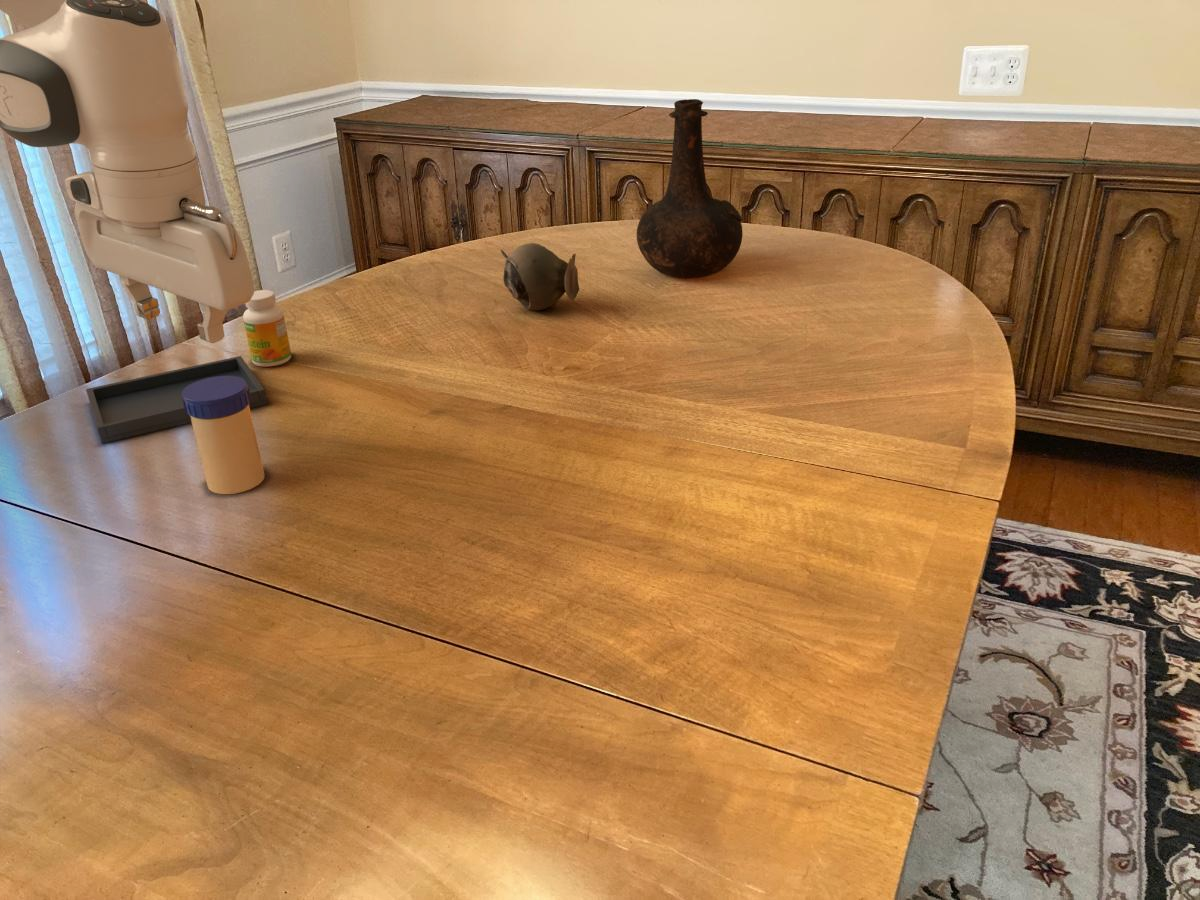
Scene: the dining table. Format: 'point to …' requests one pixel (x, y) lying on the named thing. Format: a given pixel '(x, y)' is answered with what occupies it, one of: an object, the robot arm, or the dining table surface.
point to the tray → (159, 398)
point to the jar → (229, 452)
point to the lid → (216, 397)
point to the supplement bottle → (266, 330)
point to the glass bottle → (689, 210)
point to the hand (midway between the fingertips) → (180, 327)
